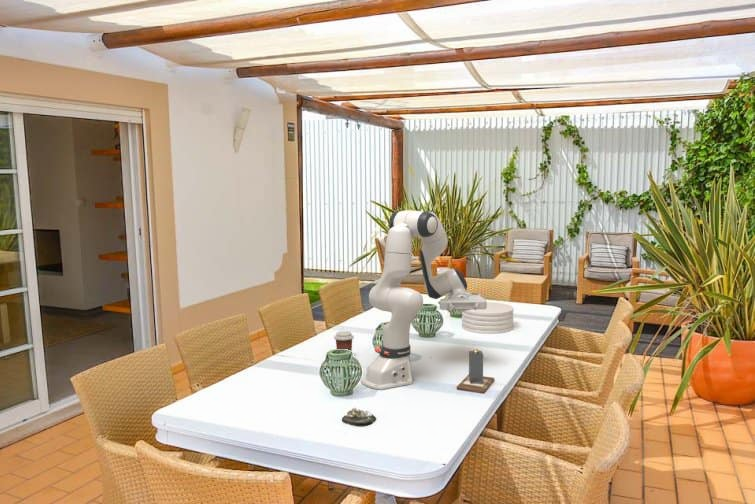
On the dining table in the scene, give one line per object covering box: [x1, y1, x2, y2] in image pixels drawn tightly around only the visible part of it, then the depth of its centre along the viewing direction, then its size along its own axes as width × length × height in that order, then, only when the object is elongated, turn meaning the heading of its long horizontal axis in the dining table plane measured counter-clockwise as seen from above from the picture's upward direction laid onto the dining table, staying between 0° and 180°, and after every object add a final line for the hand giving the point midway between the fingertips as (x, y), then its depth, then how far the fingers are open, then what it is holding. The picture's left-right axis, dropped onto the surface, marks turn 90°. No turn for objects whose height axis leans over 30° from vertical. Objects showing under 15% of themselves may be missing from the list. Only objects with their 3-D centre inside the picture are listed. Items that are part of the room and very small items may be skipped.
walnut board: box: [456, 373, 495, 394], centre depth 239 cm, size 16×11×1 cm
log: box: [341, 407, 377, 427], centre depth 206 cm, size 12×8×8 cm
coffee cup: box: [333, 330, 355, 351], centre depth 277 cm, size 9×9×12 cm
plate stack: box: [461, 301, 514, 335], centre depth 329 cm, size 28×28×12 cm
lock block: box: [468, 348, 484, 384], centre depth 238 cm, size 5×5×13 cm
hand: (464, 308), depth 252 cm, fingers open, 8 cm apart
